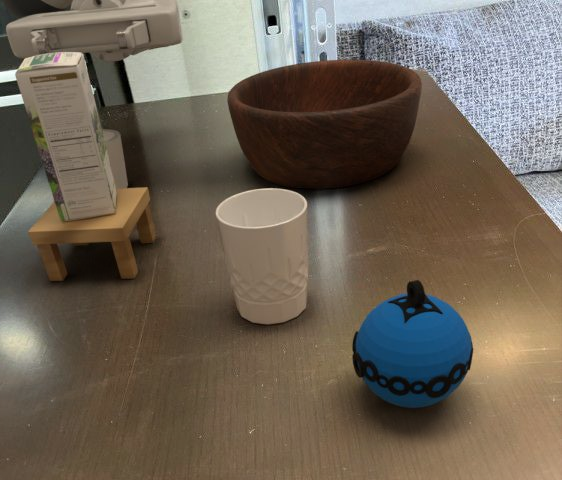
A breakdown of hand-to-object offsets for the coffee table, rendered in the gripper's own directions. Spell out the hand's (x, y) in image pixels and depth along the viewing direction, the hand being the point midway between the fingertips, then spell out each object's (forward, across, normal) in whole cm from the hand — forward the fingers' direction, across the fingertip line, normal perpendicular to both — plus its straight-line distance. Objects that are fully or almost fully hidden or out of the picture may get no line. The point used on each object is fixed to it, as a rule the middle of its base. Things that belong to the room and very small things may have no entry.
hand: (81, 44), depth 68 cm
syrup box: (+13, +1, +13) cm, 19 cm away
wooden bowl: (-10, +27, +19) cm, 34 cm away
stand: (+13, 0, +19) cm, 23 cm away
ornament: (+39, +30, +19) cm, 53 cm away
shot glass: (-8, -4, +19) cm, 21 cm away
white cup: (+25, +20, +19) cm, 37 cm away
